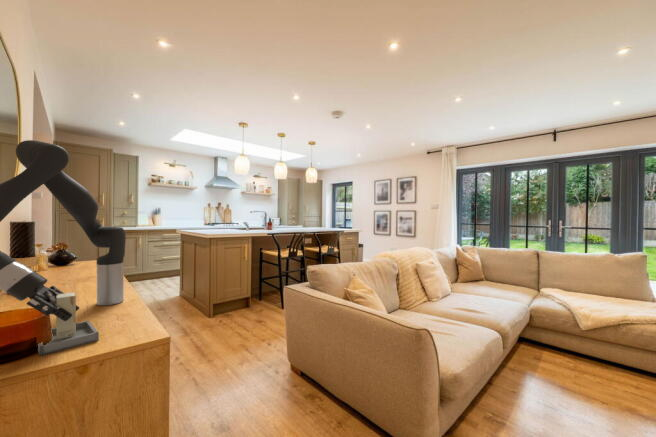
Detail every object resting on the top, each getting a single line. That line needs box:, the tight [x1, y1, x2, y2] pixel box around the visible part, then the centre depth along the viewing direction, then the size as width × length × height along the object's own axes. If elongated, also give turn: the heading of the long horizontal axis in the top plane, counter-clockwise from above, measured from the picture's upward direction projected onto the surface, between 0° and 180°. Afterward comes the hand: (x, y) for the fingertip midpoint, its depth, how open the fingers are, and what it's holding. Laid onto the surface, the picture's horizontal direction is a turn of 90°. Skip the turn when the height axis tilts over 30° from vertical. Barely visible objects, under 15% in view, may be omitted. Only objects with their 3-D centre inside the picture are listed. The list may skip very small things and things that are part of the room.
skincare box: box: [55, 291, 77, 339], centre depth 85 cm, size 6×4×12 cm
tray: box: [37, 319, 100, 357], centre depth 85 cm, size 15×13×2 cm
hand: (73, 314), depth 86 cm, fingers closed on skincare box, 7 cm apart
